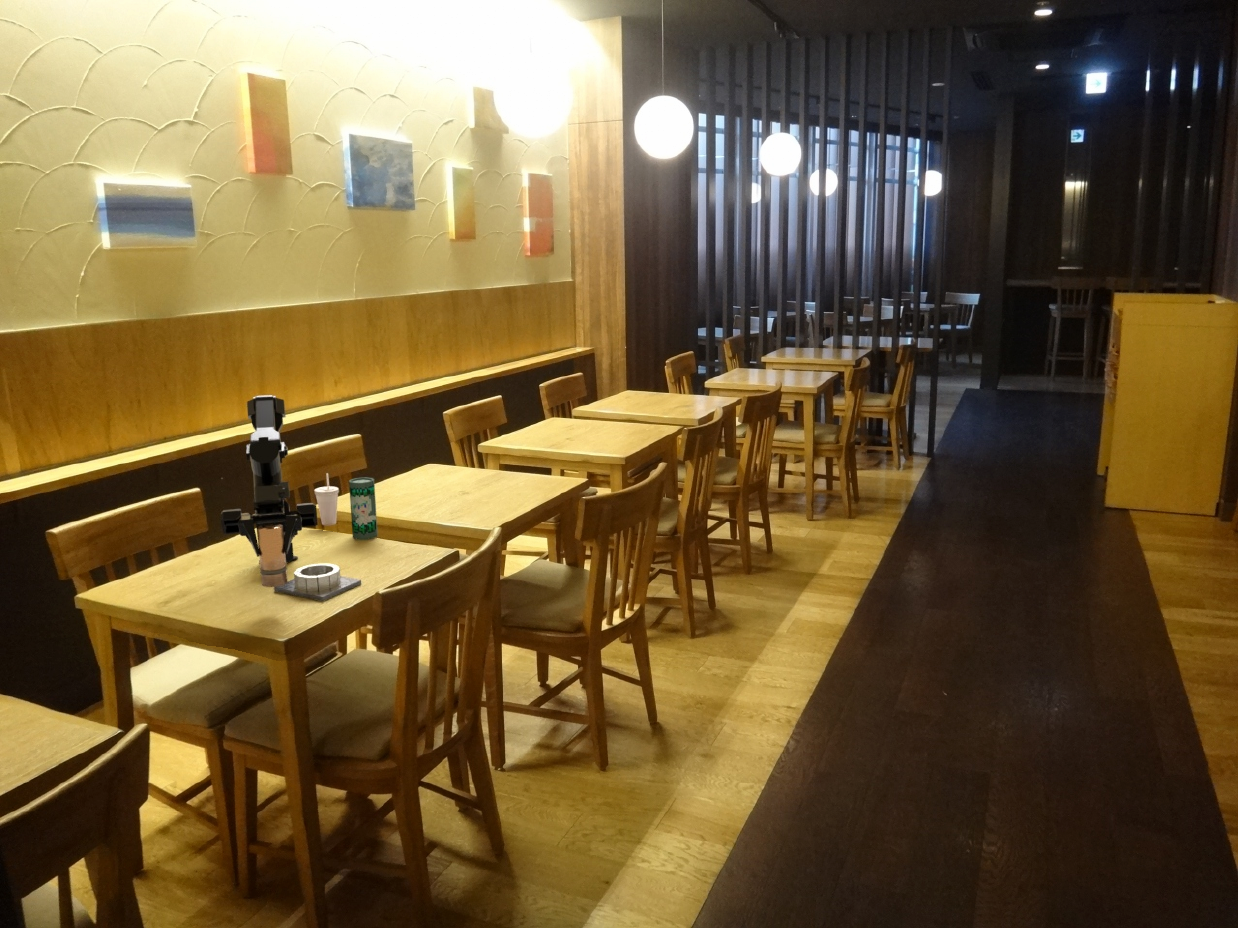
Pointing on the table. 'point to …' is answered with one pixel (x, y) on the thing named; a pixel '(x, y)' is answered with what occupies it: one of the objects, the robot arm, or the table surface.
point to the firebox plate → (320, 593)
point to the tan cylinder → (272, 555)
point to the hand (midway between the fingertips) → (272, 554)
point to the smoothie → (327, 503)
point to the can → (363, 508)
